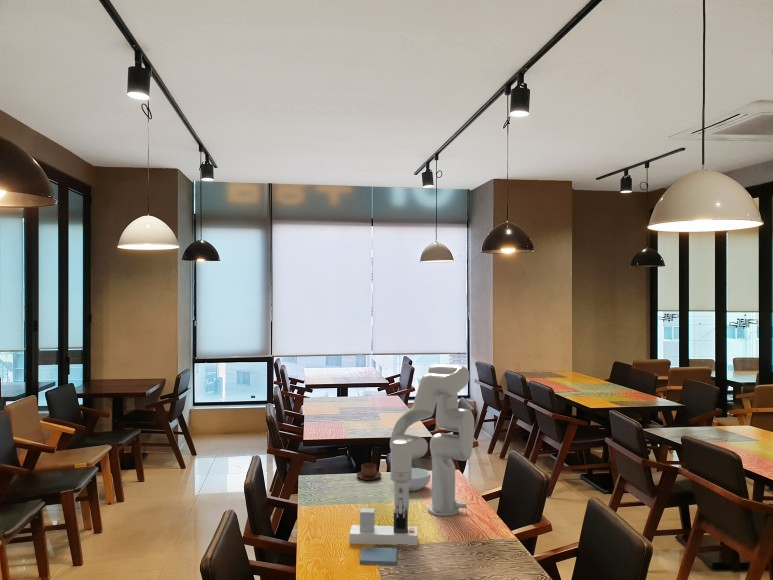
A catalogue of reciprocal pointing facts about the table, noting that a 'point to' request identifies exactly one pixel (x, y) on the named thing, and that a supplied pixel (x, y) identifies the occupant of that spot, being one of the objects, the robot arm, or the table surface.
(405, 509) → the block
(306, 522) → the table surface
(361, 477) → the cup and saucer
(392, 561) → the mat
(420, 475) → the cereal bowl
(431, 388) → the robot arm
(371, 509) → the block
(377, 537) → the power strip
